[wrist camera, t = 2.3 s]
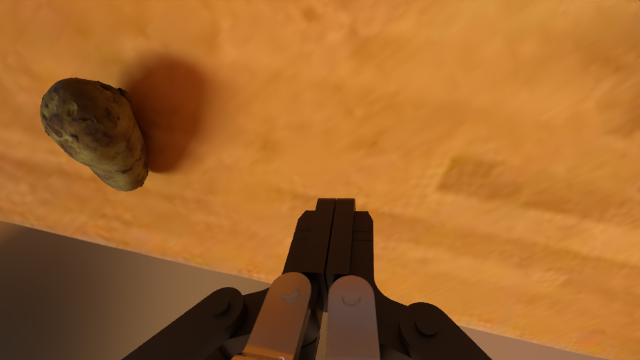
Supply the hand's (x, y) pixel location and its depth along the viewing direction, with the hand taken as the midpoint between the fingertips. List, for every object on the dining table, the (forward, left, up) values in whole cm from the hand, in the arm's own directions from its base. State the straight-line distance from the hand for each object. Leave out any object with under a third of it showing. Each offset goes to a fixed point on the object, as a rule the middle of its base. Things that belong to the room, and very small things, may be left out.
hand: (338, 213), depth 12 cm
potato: (+24, +2, -16) cm, 29 cm away
